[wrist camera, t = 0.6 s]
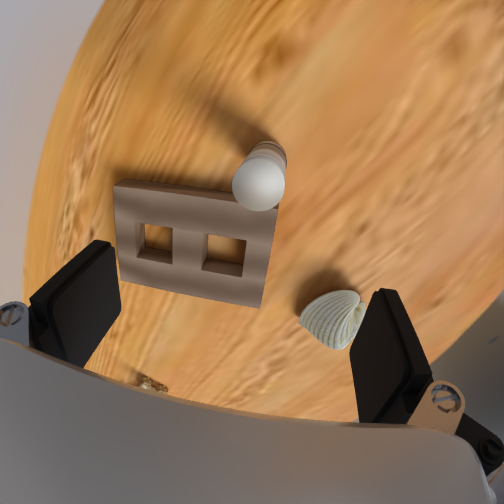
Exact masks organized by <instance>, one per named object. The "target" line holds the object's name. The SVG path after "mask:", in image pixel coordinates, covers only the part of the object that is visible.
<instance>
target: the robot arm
mask: <svg viewBox="0 0 504 504" xmlns="http://www.w3.org/2000/svg"><path fill="white" fill-rule="evenodd" d="M29 300H30V303H31V305H30V306H29V307H27V306H26V305H25V304H24V303H22V302H17V301H15V302H9V303H6V304H4V305H2V306H0V504H504V445H503V443H502V441H501V440H500V439H499V438H498V437H497V436H496V435H495V434H493V433H492V432H490V431H489V430H487V429H486V428H485V427H483V426H482V425H480V424H479V423H477V422H476V421H475V420H473V419H472V418H470V417H468V415H466V414H465V413H463V411H464V407H465V400H464V397H463V395H462V393H461V392H460V391H459V389H458V388H456V387H455V386H454V385H453V384H451V383H448V382H446V381H435V382H434V380H433V378H432V371H431V369H430V366H429V364H428V361H427V358H426V356H425V354H424V351H423V349H422V346H421V344H420V341H419V339H418V337H417V334H416V332H415V330H414V327H413V325H412V323H411V321H410V318H409V316H408V314H407V312H406V310H405V307H404V305H403V303H402V301H401V299H400V297H399V295H398V293H397V291H396V290H392V289H385V288H380V289H379V291H375V292H374V293H373V295H372V298H371V300H370V303H369V305H368V308H367V310H366V313H365V315H364V318H363V320H362V322H361V325H360V327H359V329H358V332H357V334H356V336H355V339H354V341H353V343H352V345H351V348H350V362H351V368H352V374H353V380H354V387H355V393H356V400H357V408H358V415H359V423H354V422H336V421H322V420H309V419H299V418H290V417H281V416H273V415H266V414H259V413H253V412H246V411H240V410H235V409H229V408H224V407H218V406H213V405H209V404H204V403H199V402H195V401H190V400H186V399H182V398H178V397H174V396H170V395H166V394H162V393H158V392H155V391H151V390H148V389H144V388H141V387H137V386H134V385H131V384H128V383H124V382H121V381H118V380H115V379H112V378H109V377H106V376H103V375H100V374H97V373H95V372H92V371H89V370H86V369H84V366H85V365H86V363H87V361H88V360H89V358H90V357H91V355H92V354H93V352H94V351H95V349H96V348H97V346H98V345H99V343H100V342H101V340H102V339H103V337H104V336H105V334H106V333H107V332H108V330H109V329H110V327H111V326H112V324H113V323H114V321H115V320H116V319H117V317H118V316H119V314H120V312H121V299H120V292H119V284H118V276H117V267H116V257H115V249H114V247H112V246H111V243H110V242H107V241H102V240H94V241H93V242H91V243H90V244H89V245H88V246H87V247H85V248H84V249H83V250H82V251H81V252H80V253H78V254H77V255H76V256H75V257H74V258H73V259H72V260H70V261H69V262H68V263H67V264H66V265H65V266H64V267H62V268H61V269H60V270H59V271H58V272H57V273H56V274H55V275H54V276H53V277H51V278H50V279H49V280H48V281H47V282H46V283H45V284H44V285H43V286H42V287H41V288H40V289H39V290H38V291H37V292H36V293H34V294H33V295H32V296H31V297H30V298H29Z"/></svg>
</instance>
